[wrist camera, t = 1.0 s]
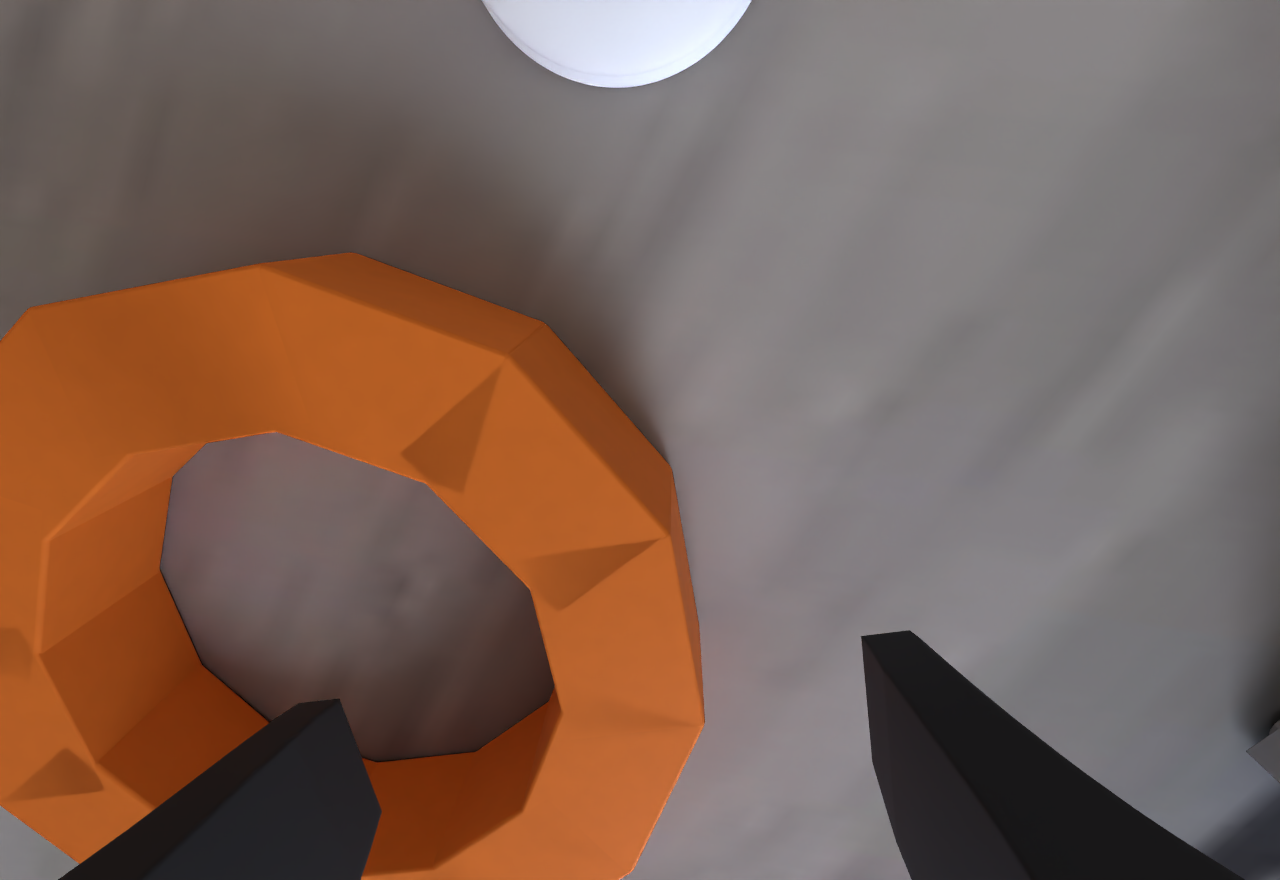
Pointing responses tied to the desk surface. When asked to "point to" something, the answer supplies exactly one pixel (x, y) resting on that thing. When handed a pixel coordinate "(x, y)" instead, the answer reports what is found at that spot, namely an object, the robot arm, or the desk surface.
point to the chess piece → (616, 35)
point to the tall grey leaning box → (1269, 752)
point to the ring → (378, 435)
